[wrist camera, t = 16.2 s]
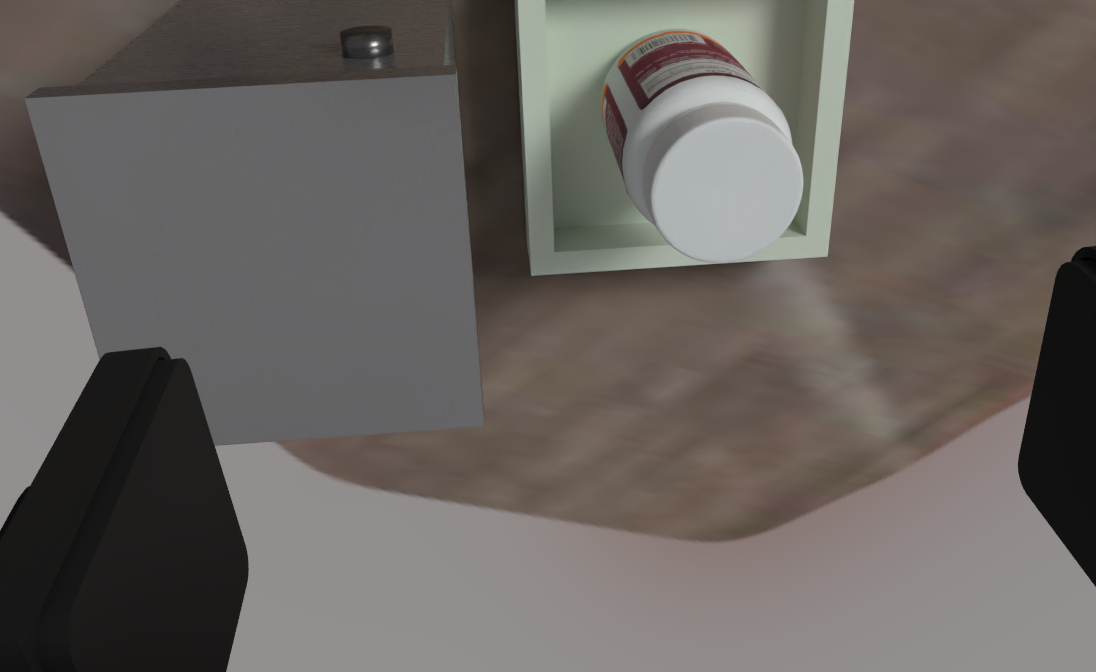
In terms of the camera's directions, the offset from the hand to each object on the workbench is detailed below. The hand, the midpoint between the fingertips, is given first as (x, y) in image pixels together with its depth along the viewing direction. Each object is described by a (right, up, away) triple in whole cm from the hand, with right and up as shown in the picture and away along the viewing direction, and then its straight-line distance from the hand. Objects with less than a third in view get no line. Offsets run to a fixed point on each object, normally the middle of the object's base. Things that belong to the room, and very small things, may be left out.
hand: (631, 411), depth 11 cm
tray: (+3, +9, +23) cm, 25 cm away
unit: (-8, +8, +23) cm, 25 cm away
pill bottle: (+3, +9, +22) cm, 24 cm away
